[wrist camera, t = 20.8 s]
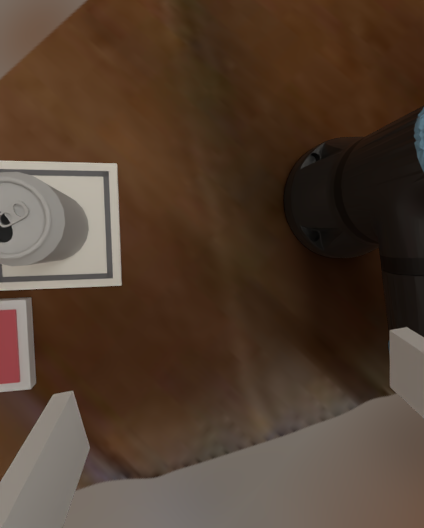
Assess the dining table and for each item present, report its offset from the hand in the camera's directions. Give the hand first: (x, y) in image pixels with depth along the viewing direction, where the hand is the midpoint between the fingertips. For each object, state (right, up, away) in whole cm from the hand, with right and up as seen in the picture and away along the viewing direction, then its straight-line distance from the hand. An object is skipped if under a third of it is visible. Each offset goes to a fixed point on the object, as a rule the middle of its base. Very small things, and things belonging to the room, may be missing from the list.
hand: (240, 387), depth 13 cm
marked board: (-19, +9, +23) cm, 31 cm away
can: (-19, +9, +22) cm, 31 cm away
